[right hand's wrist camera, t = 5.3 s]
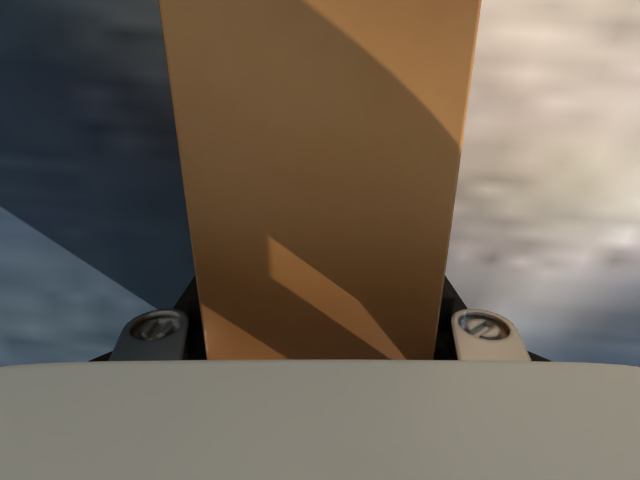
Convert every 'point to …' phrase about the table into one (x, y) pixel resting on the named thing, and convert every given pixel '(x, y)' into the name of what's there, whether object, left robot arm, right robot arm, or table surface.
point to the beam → (320, 169)
